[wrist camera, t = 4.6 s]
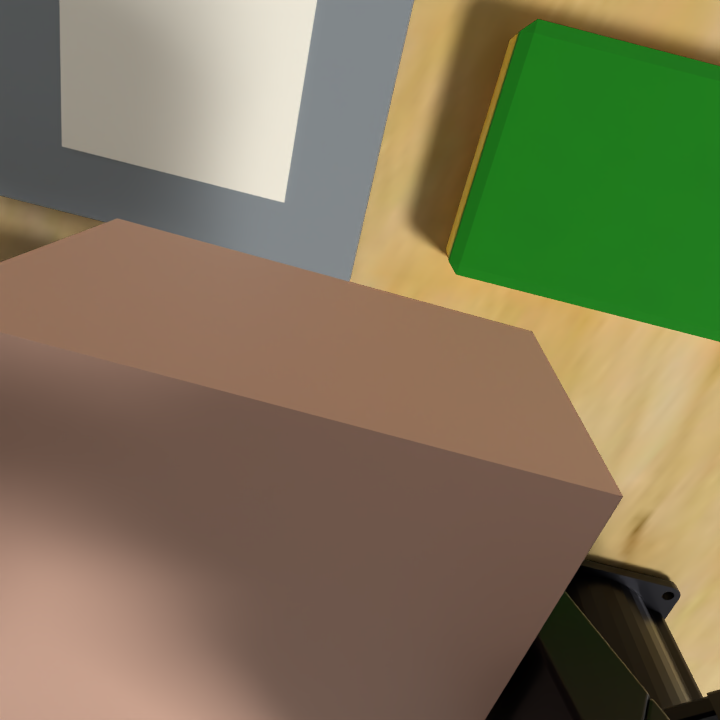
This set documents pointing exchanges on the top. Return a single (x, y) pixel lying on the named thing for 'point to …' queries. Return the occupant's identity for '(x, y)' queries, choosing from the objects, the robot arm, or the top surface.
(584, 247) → the dish sponge
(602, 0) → the top surface
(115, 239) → the pink square block
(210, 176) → the slate mat
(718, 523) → the top surface
